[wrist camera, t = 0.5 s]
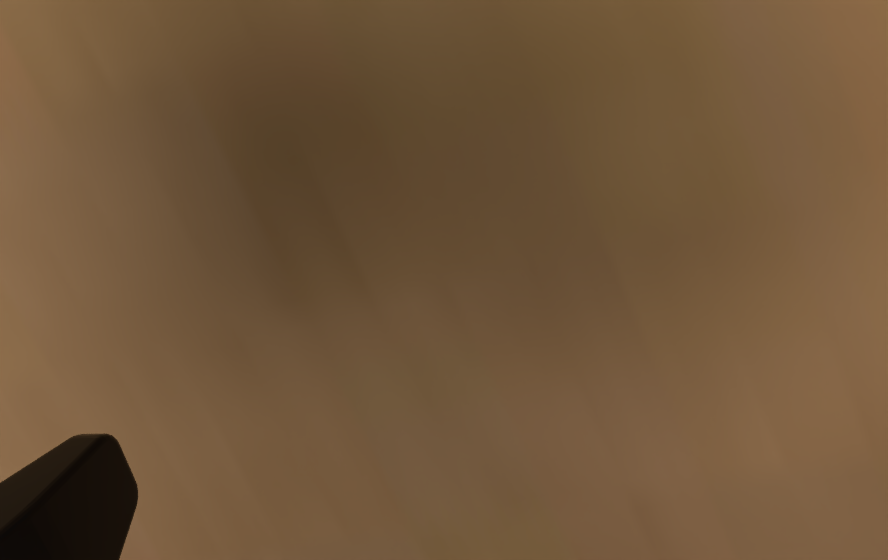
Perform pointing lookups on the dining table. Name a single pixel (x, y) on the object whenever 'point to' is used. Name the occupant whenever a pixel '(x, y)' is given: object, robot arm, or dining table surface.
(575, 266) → the dining table surface
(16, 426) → the dining table surface
